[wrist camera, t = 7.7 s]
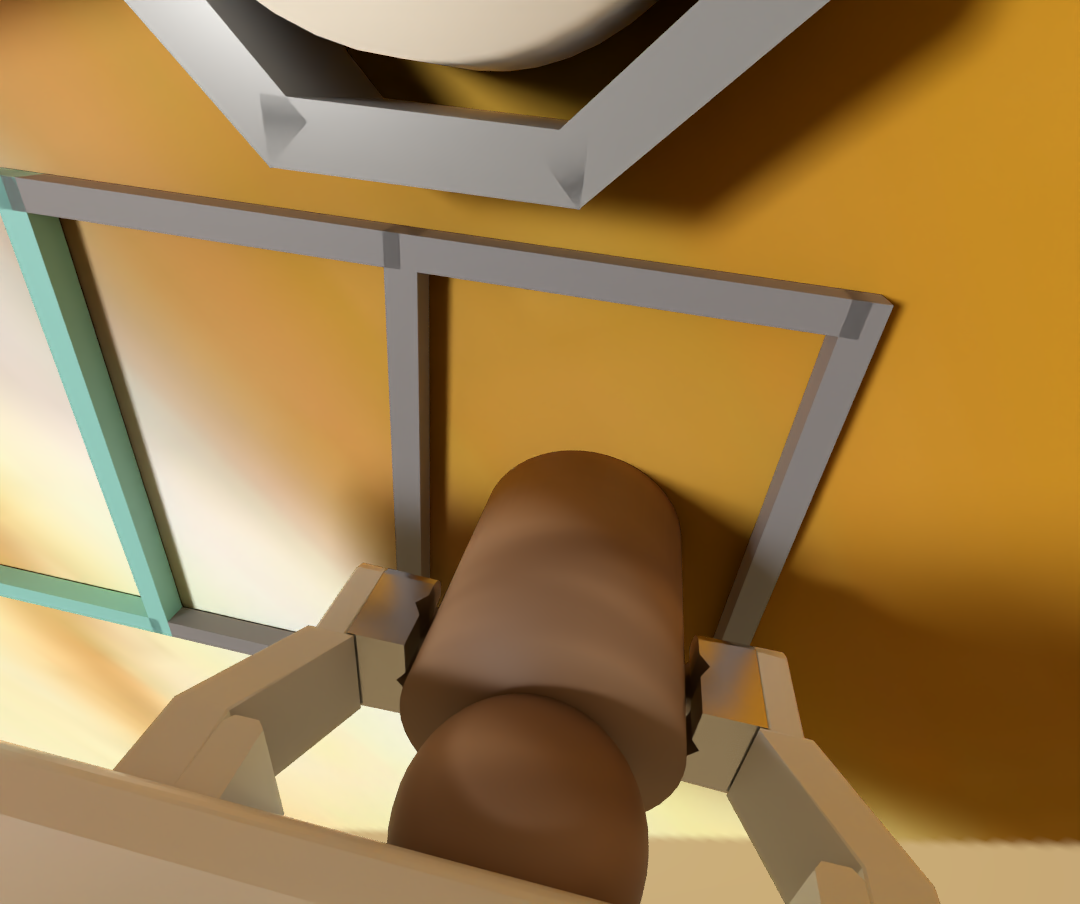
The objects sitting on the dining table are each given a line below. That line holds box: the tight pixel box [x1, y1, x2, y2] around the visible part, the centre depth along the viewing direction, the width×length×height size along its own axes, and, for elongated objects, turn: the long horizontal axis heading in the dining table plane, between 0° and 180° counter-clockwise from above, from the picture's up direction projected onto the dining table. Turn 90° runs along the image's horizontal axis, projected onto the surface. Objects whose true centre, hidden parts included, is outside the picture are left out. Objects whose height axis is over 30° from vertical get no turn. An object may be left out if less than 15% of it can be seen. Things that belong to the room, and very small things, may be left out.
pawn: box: [387, 451, 687, 904], centre depth 10 cm, size 4×4×8 cm
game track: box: [0, 167, 894, 655], centre depth 14 cm, size 23×12×1 cm, turn 84°
